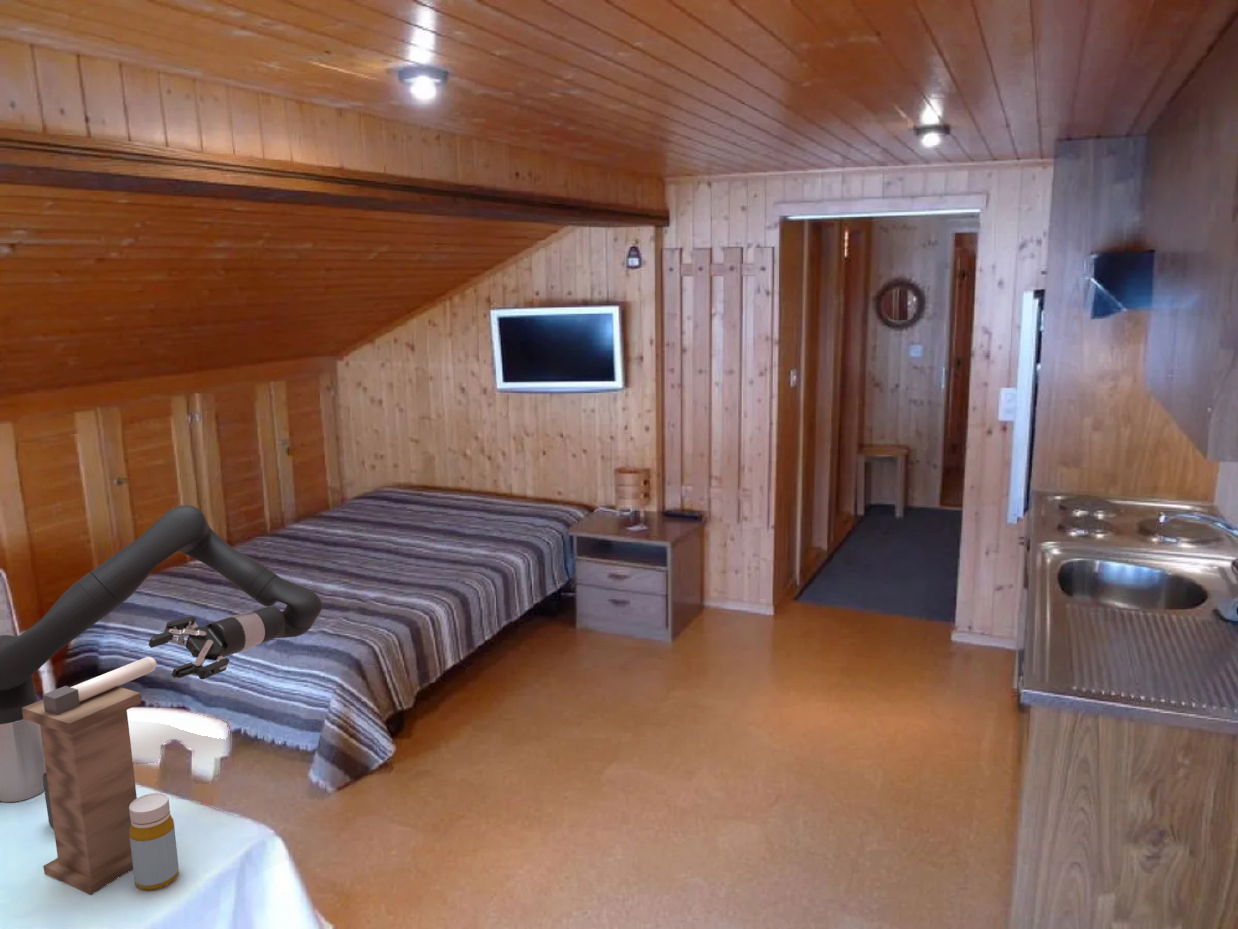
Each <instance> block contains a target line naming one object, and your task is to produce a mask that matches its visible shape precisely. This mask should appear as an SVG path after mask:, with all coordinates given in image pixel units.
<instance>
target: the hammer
mask: <svg viewBox="0 0 1238 929" xmlns="http://www.w3.org/2000/svg"><path fill="white" fill-rule="evenodd" d="M157 666H158V665H157V661H156V660H155V658H153V657H151V656H145V657H143V658H141V659H137V660H135V661H133V662H131V663H128V664H125V665H123V666H120V667H118V668H115V669H113V670H110V671H108V672H106V673H103V674H101V675H98V676H95V677H91V678H90V679H88V680H85V681H82V682H80V683H78V684H75V685H73V686H68V685H64V686H62V687H59V688H56V689H54V690H52V691H48V692H47V693H43V694H42V700H43V702H44V710H45V711H46V712H49V713H52V714H55V715H59V714H61V713H64V712H66V711H68V710H71V709H73V708H76V707H78V706H80V703H79V702H81V701H83V700H86V699H88V698H91V697H93V696H95V695H98V694H100V693H103V692H105V691H107V690H110V689H112V688H115V687H117V686H118V687H120V686H122V685H124V684H126V683H129V682H132V681H134V680H136V679H138V678H141V677H143V676H145V675H147V674H151V673H152V672H154V671H155V669H156V668H157Z"/></svg>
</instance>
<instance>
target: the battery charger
mask: <svg viewBox="0 0 1238 929" xmlns="http://www.w3.org/2000/svg"><path fill="white" fill-rule="evenodd" d="M43 785H44V791H43V792H44V798H45V805H46V811H47V812H46V813H47V818H48V824H49V825H50V826H51V828H52V829H53V830H54V826H53V819H52V811H51V804H50V796H49V789H48V781H47V774H46V773H44V774H43Z"/></svg>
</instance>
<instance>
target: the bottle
mask: <svg viewBox="0 0 1238 929" xmlns="http://www.w3.org/2000/svg"><path fill="white" fill-rule="evenodd" d="M129 811H130V819H131V827H130V830H129V834H130V835H129V836H130V845H131V854H132V862H133V869H132V871H133V878H134V883H135V885H136V887H138V888H140V889H142V890H144V891H154V889H155V890H158V889H162V888H164V887H167V886H168V885H169V884H171V883H172V882H173V881H174V880H175V879H176V878H177V876H178V875H179V871H180V870H179V860H178V859H179V857H178V849H177V840H176V838H177V837H176V830H175V822H174V818H173V817H172V815H171V810H170V800H169V796H168V795H167V794H165V793H162V792H152V793H148V794H144V795H141V796H139V797H137V799H135V800H134V801H133V802H132V803H131V804H130V807H129Z"/></svg>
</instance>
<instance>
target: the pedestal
mask: <svg viewBox="0 0 1238 929" xmlns="http://www.w3.org/2000/svg"><path fill="white" fill-rule="evenodd" d="M37 701H38V702H35V703H33V704H30V705H28V706H25V707H23V708H22V714H23V719H26V720H29V721H32V722H34V723H37V724H40V729H41V736H42V744H43V751H44V759H45V766H46V774H47V781H48V789H49V796H50V804H51V811H52V819H53V826H54V829H53V833H54V839H55V840H54V841H55V848H56V856H57V858H54V859H53V860H51V861H49V862H47V863H46V864H44V865H43V871H44V872H43V873H44V875H46V876H48V877H51V878H53V879H54V880H58V881H60V882H61V883H63V884H66V885H68V886H70V887H72V888H75V889H77V890H79V891H82V892H83V893H86V894H88V895H90V896H92V895H93V894H95V893H96V892H98V891H100V890H101V889H102V888H105V887H107V886H108V885H109V883H110V884H111V883H113V882H114V881H116V880H117V878H118V877H119V878H120V877H123V876H124V875H126V874H128V873H129V872H131V871H133V862H132V854H131V845H130V836H129V835H130V834H129V830H130V827H131V819H130V811H129V807H130V804H131V803H132V802H133V801H134V800H135V799H137V798H138V797H137V788H136V779H135V770H134V763H133V762H134V761H133V753H132V746H131V745H132V744H131V735H130V726H129V718H128V710H129V709H131V708H134V707H136V706H138V705H140V704H142V699H141V692H139V691H135V690H132V689H128V688H125V687H120V686H117V687H115V688H112V689H110V690H107V691H105V692H103V693H100V694H98V695H95V696H93V697H91V698H88V699H86V700H83V701H81V702H79V703H80V706H78V707H76V708H73V709H71V710H68V711H66V712H64V713H61V714H59V715H55V714H52V713H49V712H46V711H45V710H44V702H43V699H41V700H37ZM128 871H129V872H128ZM125 873H126V874H125ZM122 875H123V876H122ZM119 878H118V879H119ZM107 884H108V885H107Z"/></svg>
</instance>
